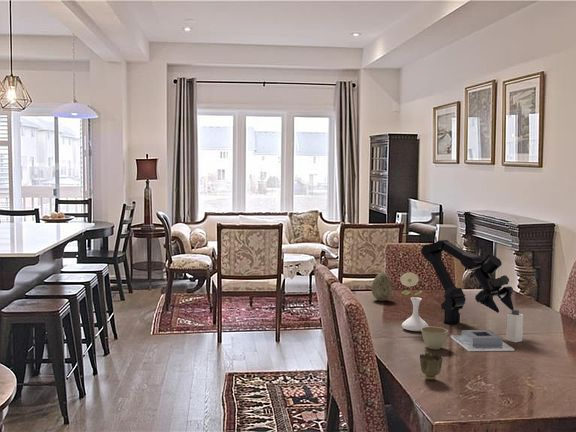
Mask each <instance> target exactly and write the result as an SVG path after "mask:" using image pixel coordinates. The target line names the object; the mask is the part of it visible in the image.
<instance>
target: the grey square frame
mask: <svg viewBox="0 0 576 432" xmlns="http://www.w3.org/2000/svg"><path fill="white" fill-rule="evenodd" d="M450 338H451V339H452V340H454V341H455V342H457V343H458V344H459V345H460V346H461V347H463V348H464V349H465V350H466V351H467V352H514V351H515V348H513V347H512V346H511V345H509V344H507V343H506V342H504V341H503V339H504V338H503V337H502V336H500V335H499V334H497V333H496V332H494V331H493V330H491V329H461V334H459V335H458V334H451V335H450Z"/></svg>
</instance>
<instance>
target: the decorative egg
mask: <svg viewBox="0 0 576 432" xmlns="http://www.w3.org/2000/svg"><path fill="white" fill-rule="evenodd" d="M371 293H372V296H373V297H374V299H375V300H377V301H380V302H385V301H387V300H389V299H390V297H391V296H392V294H393V283H392V280H391V277H389V275H388V274H387V273H386V272H383V271H382V272H380V273H378V274H377V275H376V276H375V278H373V281H372V284H371Z"/></svg>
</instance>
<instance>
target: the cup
mask: <svg viewBox="0 0 576 432" xmlns="http://www.w3.org/2000/svg"><path fill="white" fill-rule="evenodd" d="M443 359H444V356H442V355H441V354H439V353H435V354H434V353H433V352H432V353H429V352H425V353H422V354H421V353H420V354H419V363H420V369H421V370H420V371H421V372H422V373H423V375H424V379H425V380H427V381H430V382H431V381H435V380H436V379H437V376H438V375H439V374H440V373H441V370H442V365H443Z"/></svg>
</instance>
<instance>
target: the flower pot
mask: <svg viewBox="0 0 576 432" xmlns="http://www.w3.org/2000/svg"><path fill="white" fill-rule="evenodd" d="M420 332H421V336H422V340H423V342H424V344H425V346H426V347H427V349H430V350H440V349H441V348H442V347H443V345H444V344H445V342H446V339H447V337H448V336H447V335H448V332H449V331H448V329H446V328H444V327H440V326H439V327H438V326H429V327H424V328H422V329H421V331H420Z"/></svg>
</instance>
